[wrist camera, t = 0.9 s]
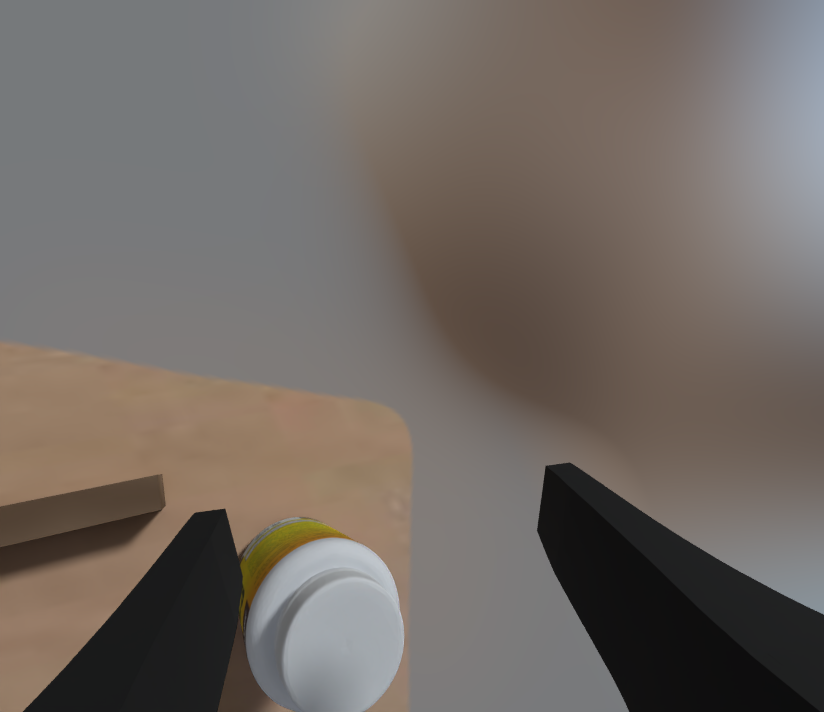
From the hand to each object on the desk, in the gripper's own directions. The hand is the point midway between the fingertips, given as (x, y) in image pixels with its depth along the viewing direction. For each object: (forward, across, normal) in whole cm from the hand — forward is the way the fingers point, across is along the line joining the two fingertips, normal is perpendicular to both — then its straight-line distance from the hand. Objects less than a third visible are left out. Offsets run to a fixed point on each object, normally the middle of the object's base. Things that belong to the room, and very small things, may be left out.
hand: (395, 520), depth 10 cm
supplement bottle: (+9, +5, +12) cm, 16 cm away
